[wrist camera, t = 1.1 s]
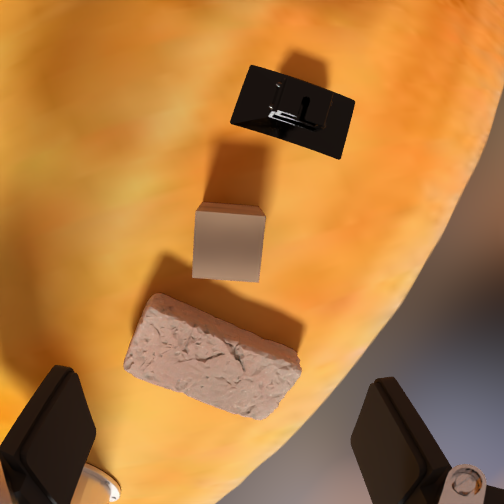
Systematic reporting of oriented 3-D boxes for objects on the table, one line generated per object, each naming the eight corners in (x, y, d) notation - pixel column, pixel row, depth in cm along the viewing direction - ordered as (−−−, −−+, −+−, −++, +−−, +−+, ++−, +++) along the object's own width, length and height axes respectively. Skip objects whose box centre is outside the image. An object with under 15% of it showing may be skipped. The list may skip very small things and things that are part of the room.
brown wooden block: (252, 259, 30) (258, 282, 24) (199, 255, 29) (192, 277, 24) (258, 206, 29) (265, 216, 23) (202, 201, 28) (195, 210, 22)
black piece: (212, 127, 27) (209, 119, 22) (237, 52, 25) (239, 32, 21) (347, 171, 29) (368, 172, 24) (368, 99, 27) (390, 89, 22)
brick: (300, 348, 33) (309, 373, 29) (263, 400, 35) (267, 427, 30) (156, 284, 30) (144, 303, 26) (130, 347, 32) (118, 371, 27)
